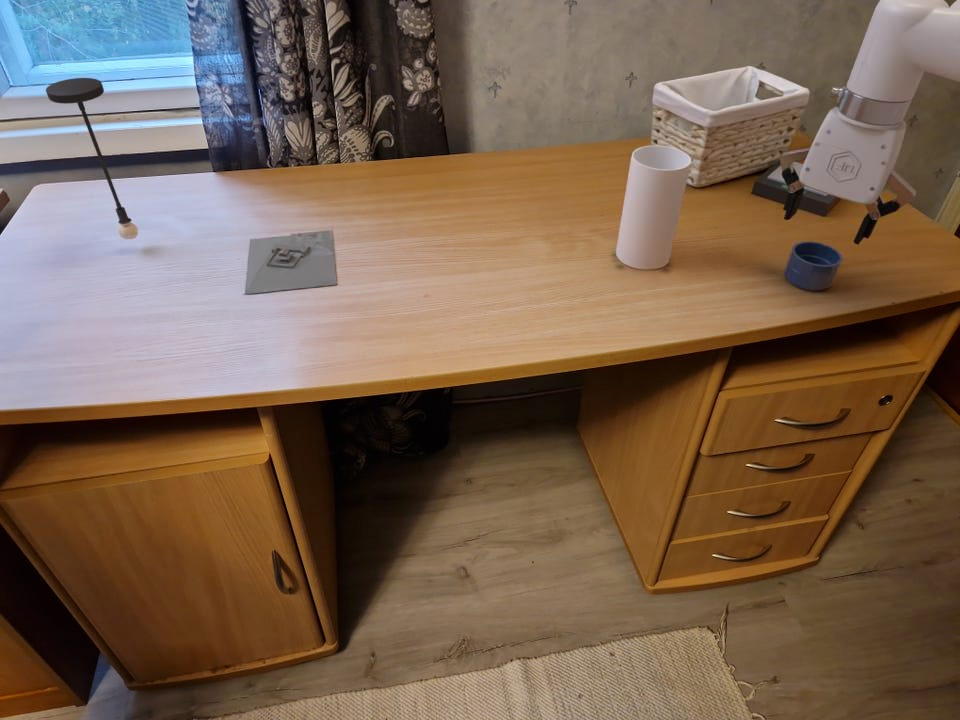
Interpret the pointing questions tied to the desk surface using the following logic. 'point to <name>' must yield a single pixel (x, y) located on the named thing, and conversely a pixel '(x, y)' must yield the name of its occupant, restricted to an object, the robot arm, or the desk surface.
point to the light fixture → (91, 132)
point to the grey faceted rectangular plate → (290, 262)
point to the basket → (727, 121)
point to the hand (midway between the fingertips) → (823, 228)
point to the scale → (776, 190)
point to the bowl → (812, 265)
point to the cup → (652, 206)
